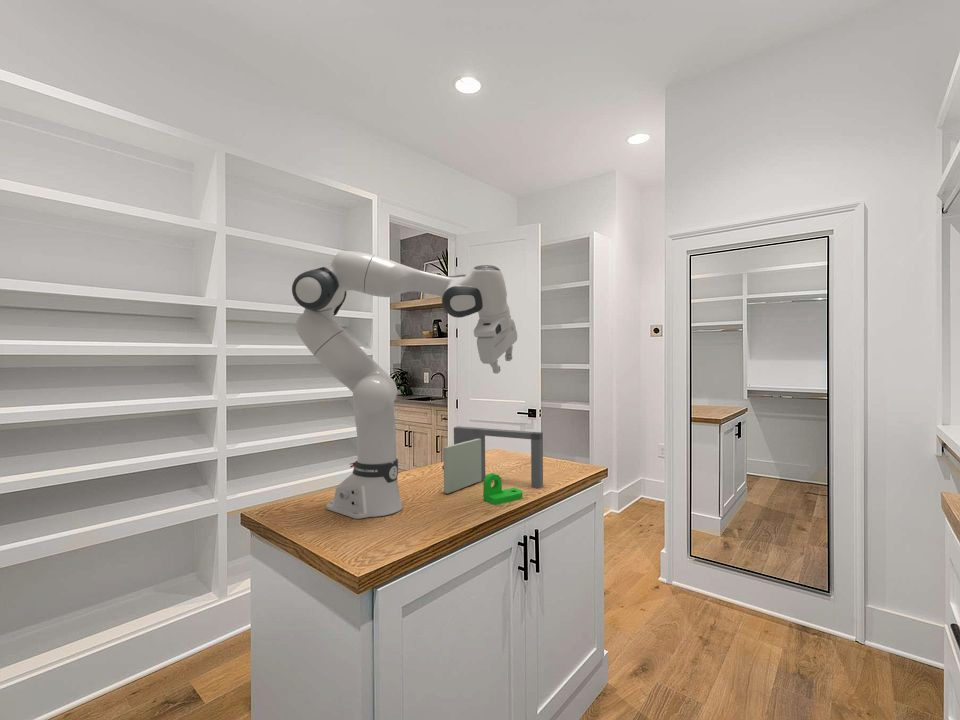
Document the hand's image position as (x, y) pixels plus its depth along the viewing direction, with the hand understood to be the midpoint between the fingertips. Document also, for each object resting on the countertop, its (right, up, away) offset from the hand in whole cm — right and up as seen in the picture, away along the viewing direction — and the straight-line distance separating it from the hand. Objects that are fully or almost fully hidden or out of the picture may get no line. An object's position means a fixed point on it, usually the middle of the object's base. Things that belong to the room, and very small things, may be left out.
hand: (503, 366), depth 142 cm
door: (-13, -40, +18) cm, 46 cm away
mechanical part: (+1, -41, +5) cm, 42 cm away
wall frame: (-1, -40, +25) cm, 47 cm away
